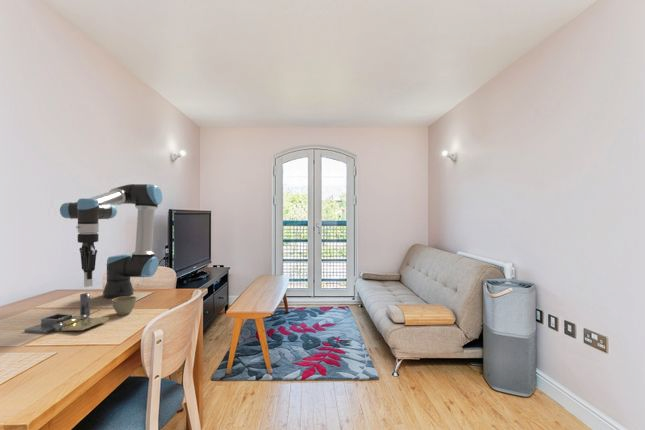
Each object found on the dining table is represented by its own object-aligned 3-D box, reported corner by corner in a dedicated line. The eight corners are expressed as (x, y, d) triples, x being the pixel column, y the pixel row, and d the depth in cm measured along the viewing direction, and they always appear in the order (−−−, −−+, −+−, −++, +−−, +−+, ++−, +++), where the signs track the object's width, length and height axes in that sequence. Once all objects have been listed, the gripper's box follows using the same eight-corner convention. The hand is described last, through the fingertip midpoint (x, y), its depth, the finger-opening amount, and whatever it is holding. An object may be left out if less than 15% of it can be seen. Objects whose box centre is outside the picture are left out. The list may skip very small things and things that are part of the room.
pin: (84, 314, 151) (84, 292, 151) (91, 314, 151) (91, 293, 151) (78, 316, 148) (78, 294, 148) (85, 316, 147) (85, 295, 147)
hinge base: (66, 317, 146) (66, 309, 146) (92, 319, 144) (92, 311, 144) (24, 331, 128) (24, 323, 128) (53, 334, 127) (54, 325, 127)
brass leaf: (82, 320, 142) (81, 314, 142) (108, 319, 141) (108, 313, 141) (53, 331, 129) (53, 324, 129) (83, 330, 128) (82, 323, 128)
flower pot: (140, 310, 158) (141, 296, 158) (126, 317, 148) (126, 301, 148) (121, 309, 159) (122, 295, 159) (106, 316, 149) (106, 300, 149)
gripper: (72, 232, 144) (72, 285, 144) (83, 234, 136) (83, 290, 137) (92, 231, 150) (92, 282, 150) (103, 233, 142) (104, 286, 143)
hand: (88, 286), depth 144 cm, fingers closed
